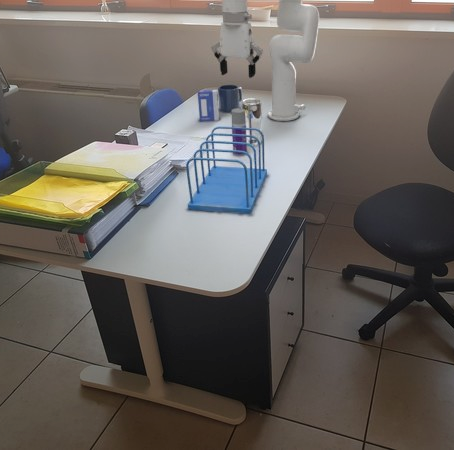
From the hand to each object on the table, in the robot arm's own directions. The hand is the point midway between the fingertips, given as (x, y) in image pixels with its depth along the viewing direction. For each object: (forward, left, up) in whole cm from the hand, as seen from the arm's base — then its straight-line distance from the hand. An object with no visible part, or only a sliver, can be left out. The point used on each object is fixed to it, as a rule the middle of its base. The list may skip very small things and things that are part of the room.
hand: (238, 75), depth 149 cm
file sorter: (+18, +28, -25) cm, 41 cm away
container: (+2, +4, -25) cm, 26 cm away
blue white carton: (-3, -34, -25) cm, 42 cm away
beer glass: (-6, -3, -25) cm, 26 cm away
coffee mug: (-18, -42, -25) cm, 52 cm away
